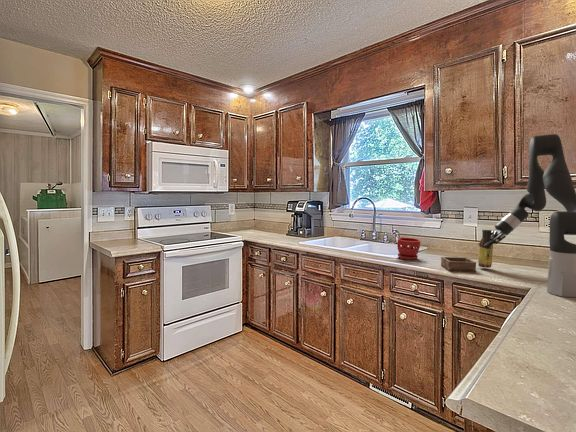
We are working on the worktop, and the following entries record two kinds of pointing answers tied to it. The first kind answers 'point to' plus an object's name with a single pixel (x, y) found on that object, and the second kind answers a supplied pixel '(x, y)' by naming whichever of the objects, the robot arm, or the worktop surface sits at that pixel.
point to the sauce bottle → (485, 250)
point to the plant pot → (408, 248)
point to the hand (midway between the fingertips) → (482, 246)
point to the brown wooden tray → (458, 264)
